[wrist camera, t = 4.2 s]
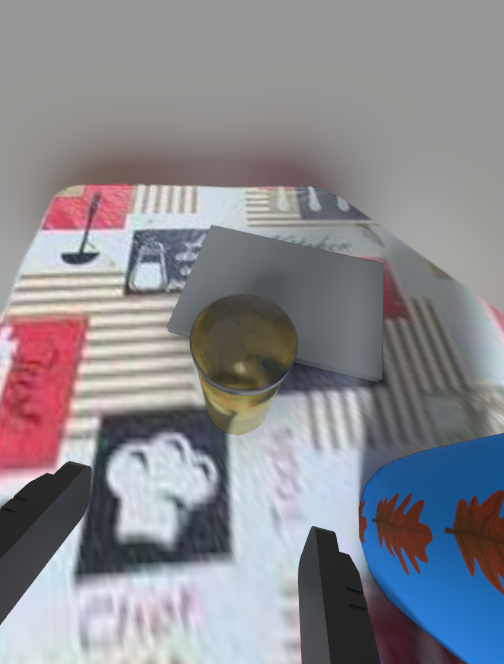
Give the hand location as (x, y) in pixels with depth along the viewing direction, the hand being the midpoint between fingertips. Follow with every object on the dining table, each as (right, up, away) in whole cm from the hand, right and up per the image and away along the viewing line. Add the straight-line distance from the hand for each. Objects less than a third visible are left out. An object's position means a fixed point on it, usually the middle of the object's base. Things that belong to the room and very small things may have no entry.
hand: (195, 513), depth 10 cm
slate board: (+5, +10, +20) cm, 23 cm away
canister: (+1, 0, +15) cm, 15 cm away
